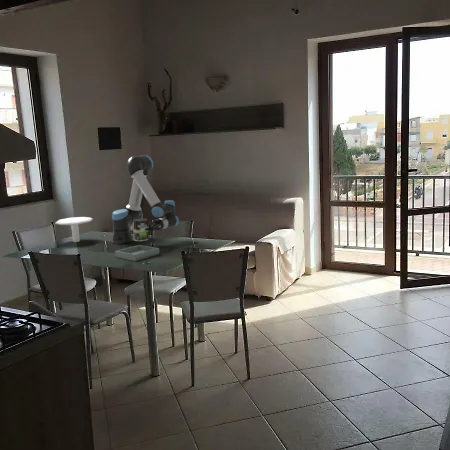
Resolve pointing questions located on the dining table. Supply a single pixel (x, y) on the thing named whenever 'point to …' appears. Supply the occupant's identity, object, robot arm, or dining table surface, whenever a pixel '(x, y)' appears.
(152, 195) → the robot arm
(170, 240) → the dining table surface
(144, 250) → the tray
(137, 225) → the coffee can
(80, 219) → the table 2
